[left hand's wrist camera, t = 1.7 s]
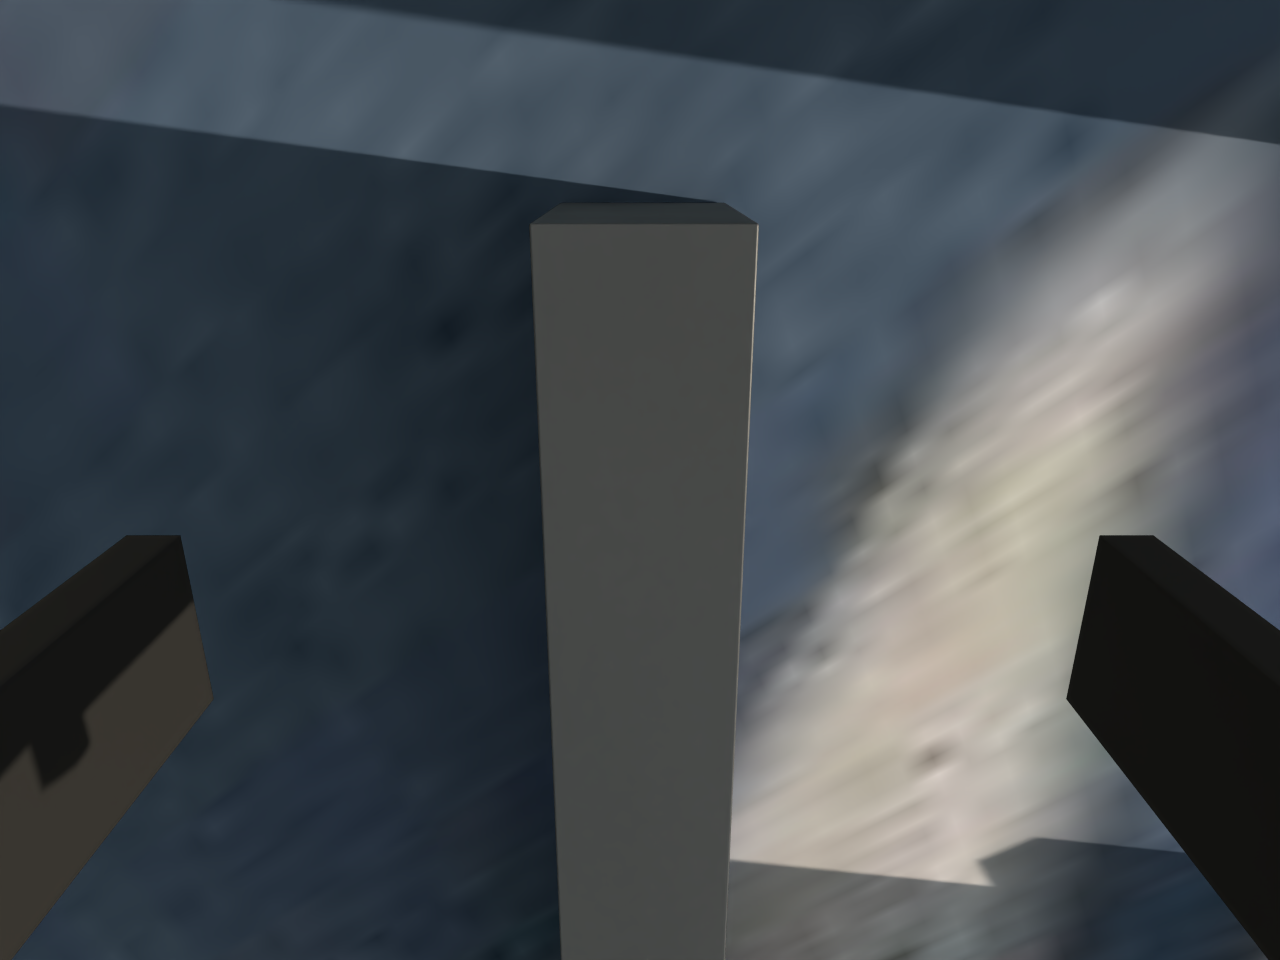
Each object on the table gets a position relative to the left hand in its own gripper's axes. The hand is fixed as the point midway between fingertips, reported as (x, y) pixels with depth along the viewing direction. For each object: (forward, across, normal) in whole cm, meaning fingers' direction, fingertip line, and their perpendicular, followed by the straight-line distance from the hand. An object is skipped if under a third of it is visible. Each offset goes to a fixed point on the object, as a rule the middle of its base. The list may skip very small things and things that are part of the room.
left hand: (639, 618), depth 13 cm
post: (+16, 0, -23) cm, 28 cm away
